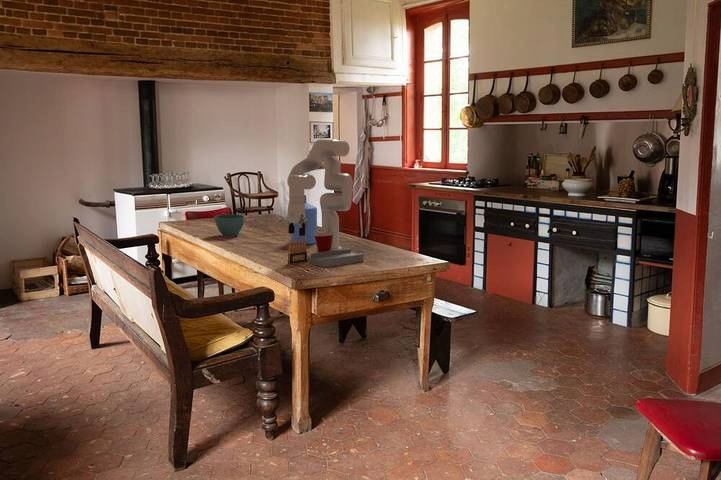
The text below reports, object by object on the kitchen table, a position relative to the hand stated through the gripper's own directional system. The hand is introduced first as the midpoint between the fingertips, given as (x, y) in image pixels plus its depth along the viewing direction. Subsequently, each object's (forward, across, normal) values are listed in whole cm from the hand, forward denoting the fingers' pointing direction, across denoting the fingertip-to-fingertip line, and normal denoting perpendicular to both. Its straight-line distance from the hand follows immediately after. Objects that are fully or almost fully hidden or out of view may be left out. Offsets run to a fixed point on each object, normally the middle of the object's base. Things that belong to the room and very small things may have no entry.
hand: (296, 234), depth 328 cm
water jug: (+13, -48, +36) cm, 61 cm away
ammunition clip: (+15, 0, +1) cm, 15 cm away
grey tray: (+14, +12, +17) cm, 25 cm away
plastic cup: (+14, -8, +22) cm, 27 cm away
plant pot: (+13, -96, +13) cm, 98 cm away
